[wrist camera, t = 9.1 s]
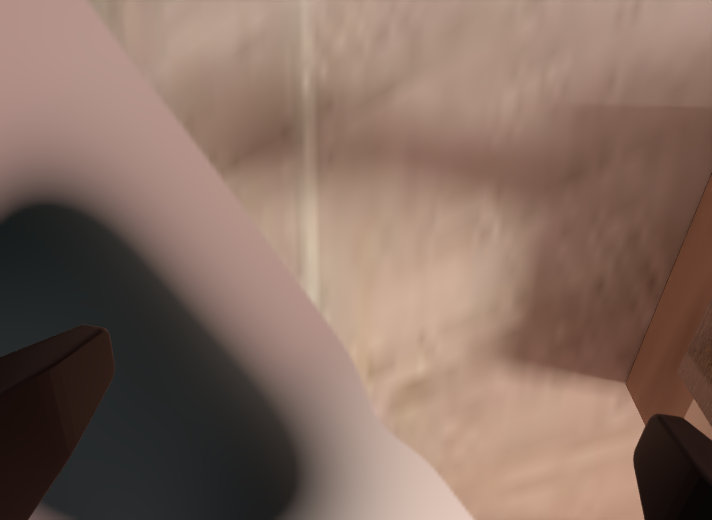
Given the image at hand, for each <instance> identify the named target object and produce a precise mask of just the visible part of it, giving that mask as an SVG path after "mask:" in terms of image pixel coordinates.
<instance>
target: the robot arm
mask: <svg viewBox="0 0 712 520" xmlns="http://www.w3.org/2000/svg"><path fill="white" fill-rule="evenodd" d="M114 372H115V363H114V357H113V351H112V345H111V339H110V334H109V332H108V331H107V329H105V328H103V327H96V326H90V325H80V326H78V327H75V328H72V329H70V330H67V331H65V332H62V333H60V334H57V335H55V336H52V337H50V338H47V339H45V340H42V341H40V342H37V343H35V344H32V345H29V346H27V347H25V348H22V349H19V350H17V351H14V352H12V353H9V354H7V355H4V356H2V357H0V520H28V519H29V518H30V516H31V515H32V513H33V512H34V510H35V509H36V507H37V506H38V504H39V503H40V502H41V500H42V499H43V497H44V496H45V494H46V492H47V491H48V490H49V488H50V487H51V485H52V484H53V482H54V481H55V479H56V478H57V476H58V475H59V473H60V472H61V470H62V469H63V467H64V466H65V464H66V462H67V461H68V460H69V458H70V456H71V455H72V453H73V451H74V449H75V448H76V446H77V444H78V442H79V441H80V438H81V437H82V435H83V433H84V431H85V429H86V427H87V426H88V424H89V422H90V420H91V418H92V416H93V415H94V412H95V411H96V409H97V407H98V405H99V403H100V401H101V400H102V397H103V396H104V394H105V392H106V390H107V388H108V387H109V385H110V383H111V381H112V379H113V376H114ZM633 461H634V469H635V474H636V479H637V484H638V489H639V494H640V499H641V504H642V509H643V514H644V519H645V520H712V440H711V439H710V438H708V437H707V436H706V435H704V434H703V433H702V432H701V431H699V430H698V429H697V428H696V427H694V426H693V425H692V424H691V423H689V422H688V421H687V420H685V419H684V418H682V417H679V416H673V415H666V414H660V413H657V414H653V415H652V416H651V417H650V418H649V420H648V422H647V424H646V426H645V428H644V430H643V433H642V435H641V437H640V439H639V442H638V444H637V446H636V448H635V451H634V458H633Z"/></svg>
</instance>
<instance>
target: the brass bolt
mask: <svg viewBox="0 0 712 520" xmlns="http://www.w3.org/2000/svg"><path fill="white" fill-rule="evenodd" d="M677 373H678V374H679V376H680V377H681V379H682V381H683V382H684V384H685V385H686V387H687V389H688V390H689V392H690V393H691V395H692V397H693V398H694V400H695V401H696V403H697V405H698V406H699V408H700V409H701V411H702V412H703V414H704V416H705V417H706V419H707V420H708V422H709V424H710V425H711V427H712V297H711V299H710V302H709V304H708V306H707V308H706V310H705V312H704V315H703V317H702V319H701V321H700V323H699V325H698V328H697V330H696V332H695V334H694V336H693V338H692V341H691V343H690V345H689V347H688V349H687V351H686V353H685V356H684V358H683V360H682V362H681V364H680V366H679V369H678V371H677Z"/></svg>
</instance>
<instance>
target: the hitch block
mask: <svg viewBox="0 0 712 520" xmlns="http://www.w3.org/2000/svg"><path fill="white" fill-rule="evenodd" d="M711 297H712V174H711V177H710V179H709V182H708V184H707V187H706V189H705V191H704V194H703V196H702V199H701V201H700V204H699V206H698V209H697V211H696V213H695V216H694V218H693V221H692V223H691V226H690V228H689V230H688V233H687V235H686V238H685V240H684V243H683V245H682V248H681V250H680V252H679V255H678V257H677V260H676V262H675V265H674V267H673V269H672V272H671V274H670V277H669V279H668V282H667V284H666V287H665V289H664V291H663V294H662V296H661V299H660V301H659V304H658V306H657V308H656V311H655V313H654V316H653V318H652V321H651V323H650V326H649V328H648V330H647V333H646V335H645V338H644V340H643V343H642V345H641V348H640V350H639V352H638V355H637V357H636V360H635V362H634V365H633V367H632V369H631V372H630V374H629V377H628V379H627V382H626V386H627V388H628V390H629V392H630V394H631V396H632V399H633V401H634V403H635V405H636V407H637V409H638V411H639V413H640V415H641V417H642V420H643V422H644V424H645V426H646V424H647V422H648V420H649V418H650V417H651V416H652V415H653V414H657V413H660V414H666V415H673V416H679V417H682V418H684V419H685V420H687V421H688V422H689V423H691V424H692V425H693V426H694V427H696V428H697V429H698V430H699V431H701V432H702V433H703V434H704V435H706V436H707V437H708V438H710V439H711V440H712V427H711V425H710V424H709V422H708V420H707V419H706V417H705V416H704V414H703V412H702V411H701V409H700V408H699V406H698V405H697V403H696V401H695V400H694V398H693V397H692V395H691V393H690V392H689V390H688V389H687V387H686V385H685V384H684V382H683V381H682V379H681V377H680V376H679V374H678V373H677V371H678V369H679V366H680V364H681V362H682V360H683V358H684V356H685V353H686V351H687V349H688V347H689V345H690V343H691V341H692V338H693V336H694V334H695V332H696V330H697V328H698V325H699V323H700V321H701V319H702V317H703V315H704V312H705V310H706V308H707V306H708V304H709V302H710V299H711Z"/></svg>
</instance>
